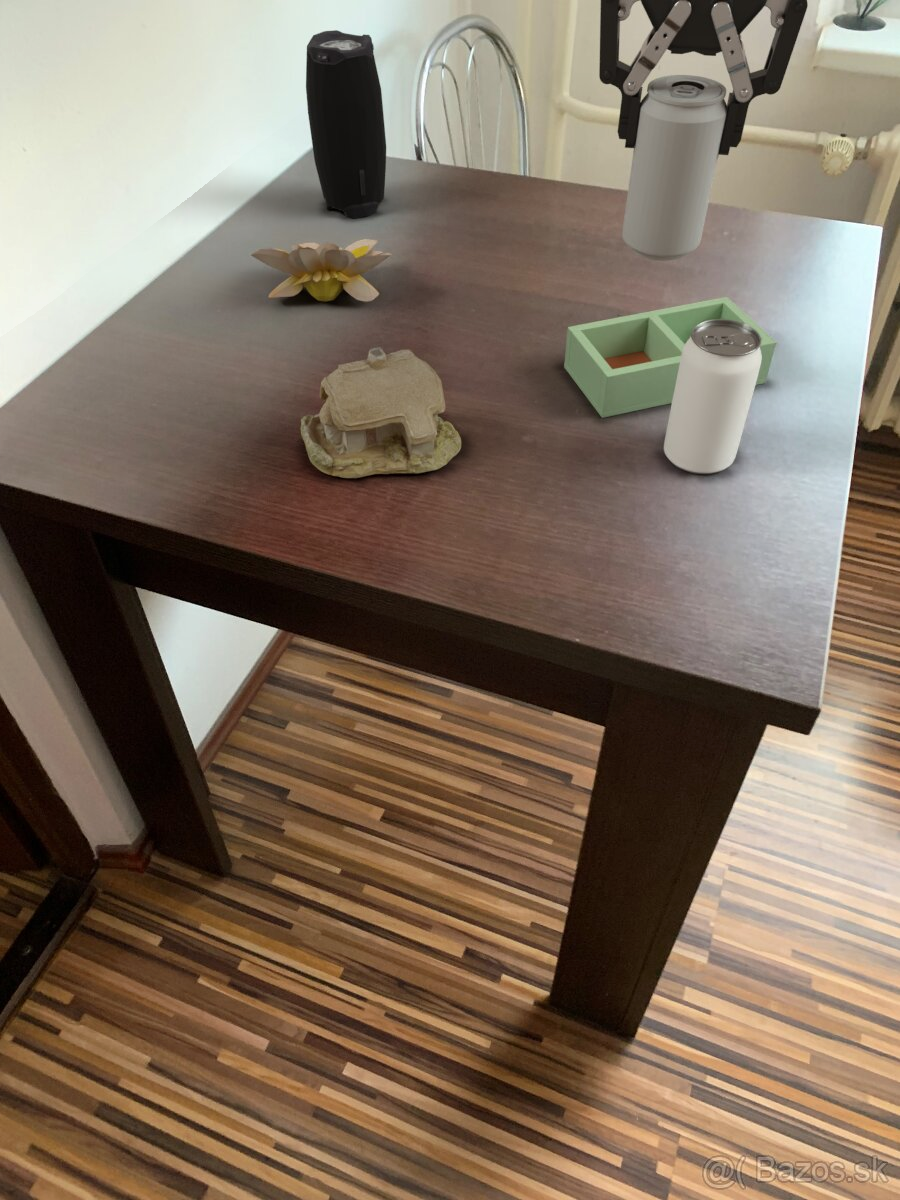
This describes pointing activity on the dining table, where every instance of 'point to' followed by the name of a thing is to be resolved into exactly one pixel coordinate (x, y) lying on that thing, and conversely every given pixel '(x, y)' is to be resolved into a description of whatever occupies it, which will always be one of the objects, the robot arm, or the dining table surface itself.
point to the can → (712, 395)
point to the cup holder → (644, 354)
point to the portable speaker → (346, 121)
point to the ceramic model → (380, 419)
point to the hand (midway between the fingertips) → (676, 147)
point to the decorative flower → (325, 269)
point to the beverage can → (673, 165)
